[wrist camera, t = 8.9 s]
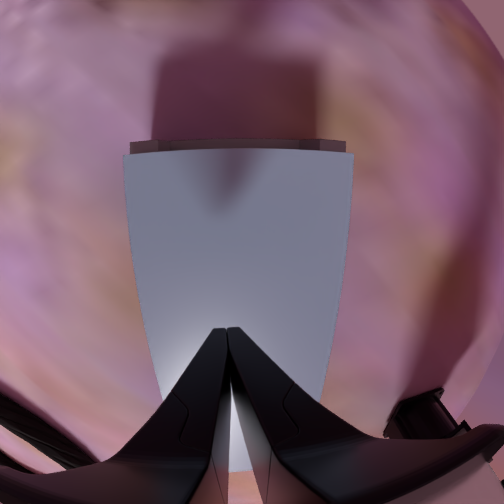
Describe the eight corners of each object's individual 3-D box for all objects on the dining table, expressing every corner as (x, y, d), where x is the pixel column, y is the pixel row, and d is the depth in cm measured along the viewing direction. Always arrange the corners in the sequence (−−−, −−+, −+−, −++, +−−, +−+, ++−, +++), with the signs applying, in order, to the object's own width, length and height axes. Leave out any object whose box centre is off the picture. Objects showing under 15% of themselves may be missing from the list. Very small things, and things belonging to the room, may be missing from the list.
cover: (345, 152, 12) (354, 153, 11) (300, 455, 19) (302, 462, 19) (128, 154, 11) (123, 155, 10) (188, 465, 18) (188, 473, 17)
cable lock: (8, 484, 24) (-94, 358, 13) (13, 470, 27) (-81, 343, 17) (139, 521, 26) (24, 398, 16) (141, 502, 30) (40, 369, 19)
